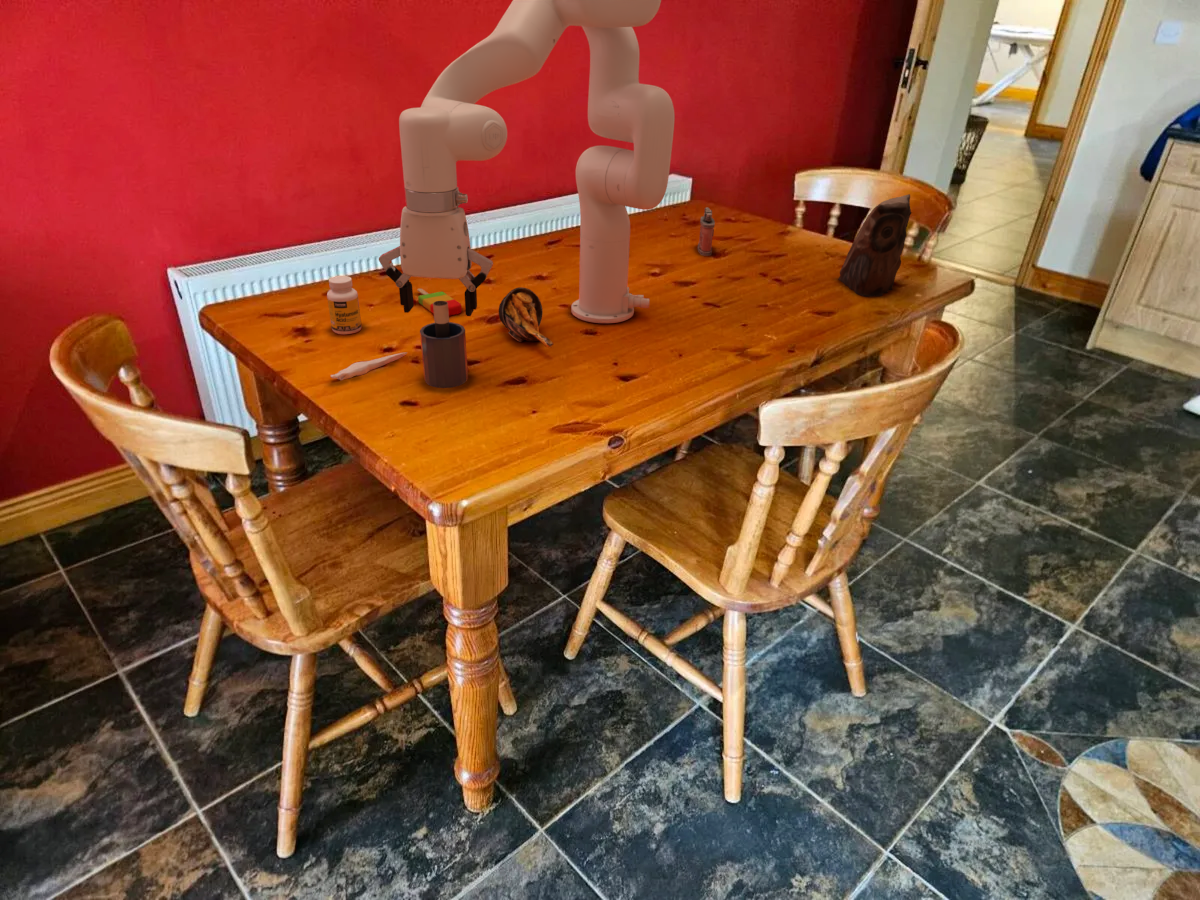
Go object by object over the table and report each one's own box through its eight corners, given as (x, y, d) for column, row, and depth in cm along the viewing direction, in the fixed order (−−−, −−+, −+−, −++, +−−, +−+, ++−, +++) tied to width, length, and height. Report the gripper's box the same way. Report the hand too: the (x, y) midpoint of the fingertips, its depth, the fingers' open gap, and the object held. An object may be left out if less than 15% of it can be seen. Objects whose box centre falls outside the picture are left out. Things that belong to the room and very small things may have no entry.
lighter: (713, 255, 193) (717, 214, 188) (699, 255, 193) (703, 214, 188) (709, 246, 200) (713, 206, 195) (696, 245, 200) (700, 205, 195)
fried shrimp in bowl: (529, 294, 153) (585, 290, 139) (521, 350, 154) (576, 352, 140) (488, 283, 148) (542, 279, 134) (480, 342, 148) (533, 344, 134)
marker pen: (454, 375, 131) (449, 301, 125) (451, 381, 129) (446, 306, 123) (441, 374, 131) (434, 300, 125) (437, 380, 129) (431, 305, 123)
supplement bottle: (335, 337, 145) (327, 285, 139) (329, 326, 149) (321, 276, 144) (365, 332, 147) (358, 281, 142) (358, 322, 151) (351, 272, 146)
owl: (892, 280, 181) (913, 191, 171) (907, 300, 170) (930, 206, 160) (837, 278, 182) (854, 188, 171) (848, 297, 171) (867, 203, 160)
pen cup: (471, 372, 134) (468, 322, 129) (463, 391, 128) (459, 339, 123) (430, 370, 134) (426, 320, 129) (420, 389, 128) (415, 337, 123)
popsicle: (438, 318, 153) (438, 309, 153) (407, 295, 164) (406, 287, 163) (464, 313, 156) (463, 304, 155) (431, 291, 167) (430, 282, 166)
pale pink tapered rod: (336, 387, 128) (335, 376, 127) (327, 382, 129) (325, 371, 128) (412, 359, 137) (411, 349, 136) (403, 355, 139) (402, 345, 138)
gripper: (495, 197, 118) (498, 306, 127) (380, 191, 119) (391, 300, 128) (485, 209, 112) (489, 323, 121) (365, 203, 112) (377, 317, 121)
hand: (439, 311), depth 124 cm, fingers open, 9 cm apart
